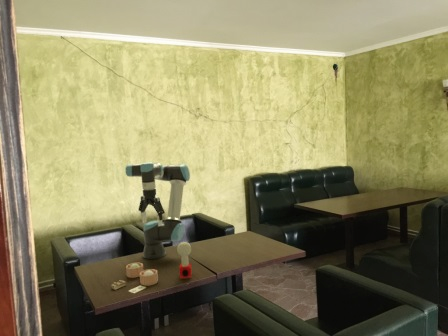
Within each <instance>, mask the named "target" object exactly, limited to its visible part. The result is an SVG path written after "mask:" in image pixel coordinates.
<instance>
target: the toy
mask: <svg viewBox="0 0 448 336" xmlns="http://www.w3.org/2000/svg"><path fill="white" fill-rule="evenodd" d="M176 252H177V254H178V255H179V256H181V257H180V259H181V261H180V262H181V263H180V264H179V279H191V278H192V273H193V272H192V271H193V270H192V263H190V262H189V255H190V253H192V246H191V244H190V243H189V242H187V241H182V242H180V243H179V244H178V245H177V249H176Z"/></svg>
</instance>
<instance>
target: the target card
mask: <svg viewBox="0 0 448 336" xmlns="http://www.w3.org/2000/svg"><path fill="white" fill-rule="evenodd" d="M146 288H147V286H144V285H141V284H140V285H138V286H136V287H134V288H131V289H129V290H128V293H131V294H136V293H139V292H141V291H143V290H145V289H146Z"/></svg>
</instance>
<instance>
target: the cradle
mask: <svg viewBox="0 0 448 336" xmlns="http://www.w3.org/2000/svg"><path fill="white" fill-rule="evenodd" d="M126 285H127V282H126V281H125V280H120V279H119V280H118V281H117V282H115V281H114V282H113V284H111V289H112V290H118V289H121V288H122V287H125V286H126Z"/></svg>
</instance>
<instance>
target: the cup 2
mask: <svg viewBox="0 0 448 336" xmlns="http://www.w3.org/2000/svg"><path fill="white" fill-rule="evenodd" d="M143 270H144V271H142V272H140V277H139V281H140V285H141V286H144V287H148V286H153V285H156V284H157V283H158V282H159V275H158V269H153V268H152V269H143ZM148 270H150V271H152V272H153V273H154V274H152V275H146V276H145V275H144V273H145V272H146V271H148Z"/></svg>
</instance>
